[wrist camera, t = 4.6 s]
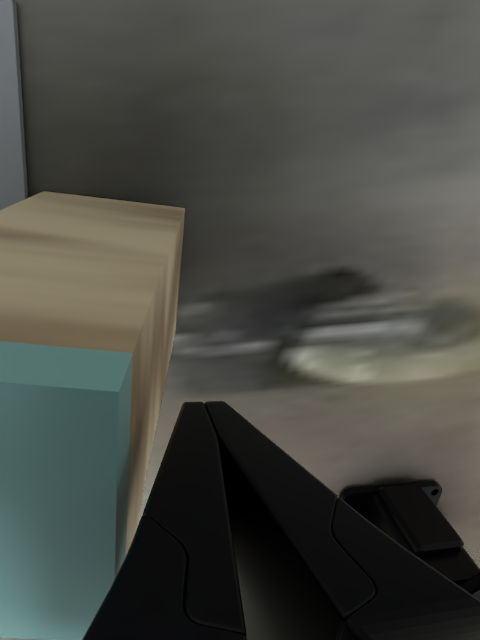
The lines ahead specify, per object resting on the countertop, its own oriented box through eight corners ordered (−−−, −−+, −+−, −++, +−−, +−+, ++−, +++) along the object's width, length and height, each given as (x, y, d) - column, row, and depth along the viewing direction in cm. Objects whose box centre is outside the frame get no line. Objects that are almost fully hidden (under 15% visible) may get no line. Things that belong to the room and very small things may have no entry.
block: (175, 331, 19) (113, 641, 8) (49, 319, 18) (-207, 630, 7) (185, 207, 17) (118, 391, 6) (43, 191, 16) (-325, 355, 5)
